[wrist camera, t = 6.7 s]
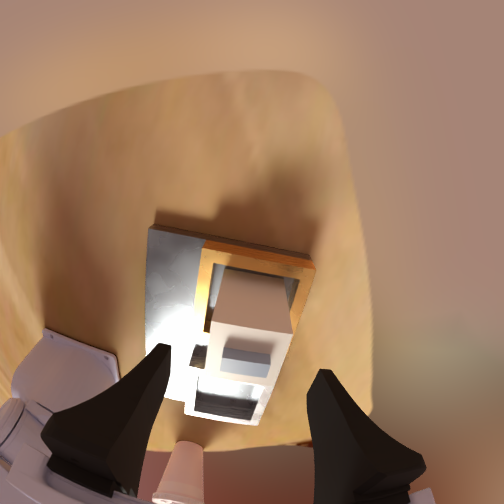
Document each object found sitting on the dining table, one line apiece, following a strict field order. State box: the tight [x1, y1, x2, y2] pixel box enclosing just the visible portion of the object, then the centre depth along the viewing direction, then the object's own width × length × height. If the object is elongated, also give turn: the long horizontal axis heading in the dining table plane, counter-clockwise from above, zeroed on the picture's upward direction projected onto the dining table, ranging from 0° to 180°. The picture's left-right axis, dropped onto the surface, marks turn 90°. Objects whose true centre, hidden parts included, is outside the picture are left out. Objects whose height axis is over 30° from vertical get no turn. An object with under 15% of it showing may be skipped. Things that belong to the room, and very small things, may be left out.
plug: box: [204, 269, 293, 387], centre depth 16 cm, size 4×4×7 cm
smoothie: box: [152, 441, 204, 504], centre depth 23 cm, size 6×6×14 cm
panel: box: [145, 224, 316, 426], centre depth 21 cm, size 11×17×2 cm, turn 169°
